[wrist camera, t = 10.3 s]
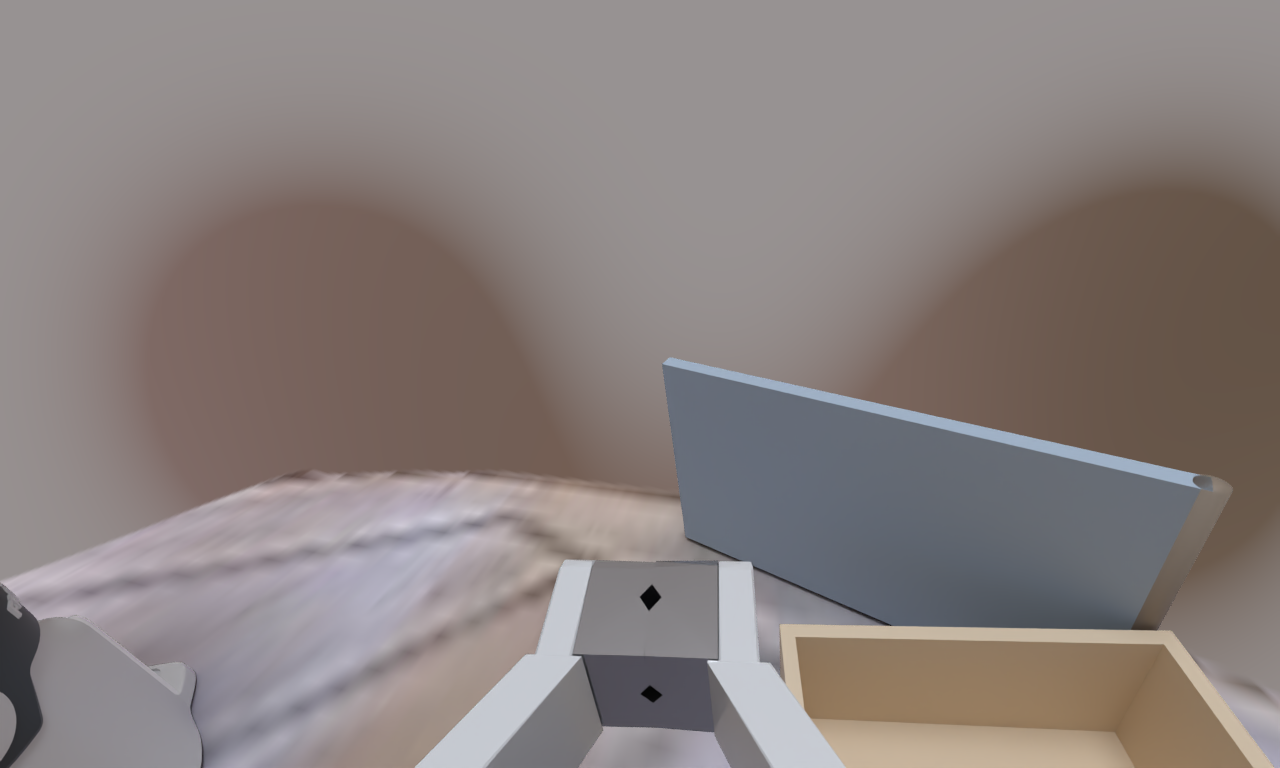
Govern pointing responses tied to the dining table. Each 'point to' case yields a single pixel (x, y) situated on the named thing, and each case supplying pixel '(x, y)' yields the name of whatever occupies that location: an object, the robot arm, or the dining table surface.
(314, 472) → the dining table surface
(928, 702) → the tray
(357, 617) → the dining table surface
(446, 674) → the dining table surface
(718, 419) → the flap
